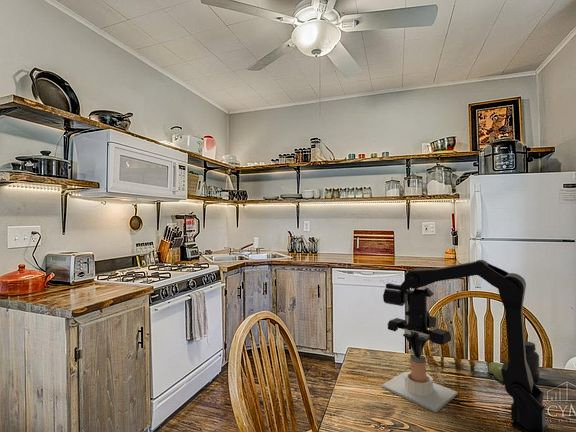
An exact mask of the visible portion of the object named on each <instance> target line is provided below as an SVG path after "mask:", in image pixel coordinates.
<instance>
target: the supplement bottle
mask: <svg viewBox="0 0 576 432" xmlns="http://www.w3.org/2000/svg"><path fill="white" fill-rule="evenodd" d="M525 351H526V361H527V363H528V366H529V368H530V371H531V375H532V378H533V383H534V384H535V383H538V382H540V379H541V378H540V375H541V374H540V355H539V353H538V352H537V349H536V343H534V342H531V341H527V340H525Z"/></svg>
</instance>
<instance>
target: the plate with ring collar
mask: <svg viewBox="0 0 576 432" xmlns="http://www.w3.org/2000/svg"><path fill="white" fill-rule="evenodd" d="M381 388H382V389H384V390H385V391H388V392H390V393H393V394H395V395H398V396H400V397H401V398H404V399H406V400H408V401H411V402H412V403H414V404H417V405H418V406H421V407H423V408H426V409H428V410H430V411H432V412H434V413H437V412H438V411H440V410H441V409H442V408H443V407H445V406H446V405H447V404H448V403H449V402H450V401H452V400H453V399H454V398H455V397H457V396H458V391H456V390H453V389H451V388H449V387H446V386H443V385H441V384H438V383H436V382H434V378H433V377H432V376H431V375H430V374H429V373H426V382H424V383H420V382H415V381H412V380H411V370H410V371H403V372H402V373H400V374H398V375H396V376H395V377H393V378H391V379H390V380H387V381H386V382H384V383H383V384H381Z"/></svg>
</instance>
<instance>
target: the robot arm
mask: <svg viewBox="0 0 576 432" xmlns="http://www.w3.org/2000/svg"><path fill="white" fill-rule="evenodd" d="M472 276H478V277H479V278H481V279H483V280H484V281H486V282H487V283H488V284H489V285H491V286H492V287H494V288H495V289H497V291H498V293H499V294H498V295H499V297H500V300H501V303H502V305H503V308H504V314H505V324H506V325H505V327H506V328H505V329H506V339H507V340H506V341H507V353H508V354H507V355H508V356H507V357H508V362H506V361H503V363H502V364H503V366H502V368H501V372H502V376H503V382H501V385H502V386H504V388H505V391H506V393H507V394H508V395H509V396H510V397H511V398H512V399H513V402H512V403H511V405H510V417H511V421H512V422H511V427H514V428H516V429H517V430H520V431H523V432H547V430H548V428H549V426H548V425H547V423H546V422H547V421H546V406H545V405H543V403H544V392H543V391H542V389H540V388H539V387H538V386H537V385H536V384H535V383H533V378H532V375H531V371H530V368H529V366H528V363H527V361H526V351H525V341H526V339H525V327H524V326H525V325H524V314H523V306H524V301H525V296H526V289H527V283H526V280H525V278H524V277H523V276H522V275H520V274H518V273H513V272H511V273H510V272H508V271H506V270H504V269H501V268H500V267H498V266H495V265H493V264H490V263H489V262H488V261H485V260H484V259H477V260H475V261H470V262H465V263H459V264H454V265H449V266H442V267H438V268H437V267H436V268H434V267H418V268H414V269H411V270H408V271H407V272H406V274H405V275H404V281H403V282H402V283H401V284H393V283H392V282H388V283H385V288H384V290H383V294H382V300H383V302H384V303H385V304H387V305H394V306H399V307H403V306H405V304H407V310H406V311H405V315H406V316H407V320H406V319H403V318H399V317H396V318H393V319H390V320H389V321H388V322H387V330H389V331H392V332H397V331H398V330H399V329H401V330H403V331H404V334H402V336H403V337H404V338H405V339H406V341H407V343H409V346H410V347H411V350H412V351H413V353H414V354H415V356H416V357H417V358H419V357H420V356H421V355H422V352H423V350H424V348H425V345H426V344H427V342H428V341H430V342H431V343H433V344H436V345H439V346H440V345H442V346H443V345H446V344H447V343H449V342H451V341H452V334H451V333H450V331H448V330H445V329H441V328H436V324H437V323H436V322H437V317H435V316H432V315H430V311H429V310H428V308H427V306H428V302H427V301H428V299H427V297H429V298H431V297H432V296H434V295H435V293H434V291H432V290H431V289H430V288H429V287H426V286H428V285H431V284H433V283H437V282H442V281H447V280H448V281H449V280H454V279H461V278H466V277H472ZM423 287H426V288H424V289H423ZM420 288H421V289H420ZM410 289H413V290H410ZM431 328H436V329H434V330H431Z"/></svg>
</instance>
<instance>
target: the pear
mask: <svg viewBox="0 0 576 432" xmlns="http://www.w3.org/2000/svg"><path fill="white" fill-rule="evenodd" d="M502 366H503V363H498V362H491V363H489V364H488V373H489V374H490V375H493V376H494V377H495V378H496V379H497V380H498V381H499V382H501V383H502V382H503V376H502V372H501V368H502Z"/></svg>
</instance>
